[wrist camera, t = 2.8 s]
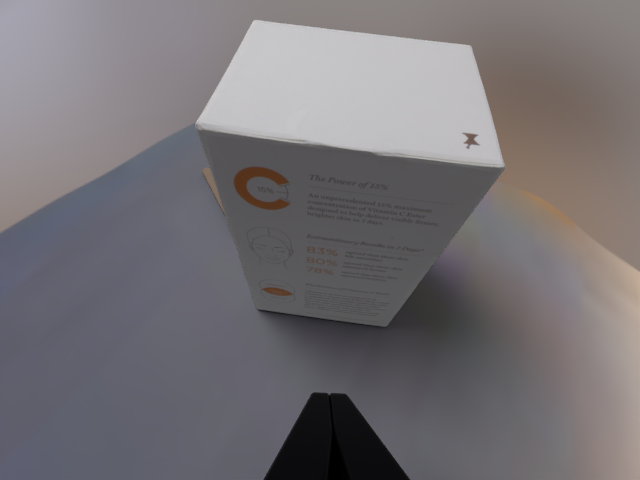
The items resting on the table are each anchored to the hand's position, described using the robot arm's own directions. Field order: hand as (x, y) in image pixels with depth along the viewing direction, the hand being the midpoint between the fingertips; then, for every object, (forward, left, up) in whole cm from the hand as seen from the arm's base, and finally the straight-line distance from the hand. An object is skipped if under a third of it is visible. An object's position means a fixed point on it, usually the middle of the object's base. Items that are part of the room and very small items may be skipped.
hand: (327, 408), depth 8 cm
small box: (+7, -5, -10) cm, 13 cm away
